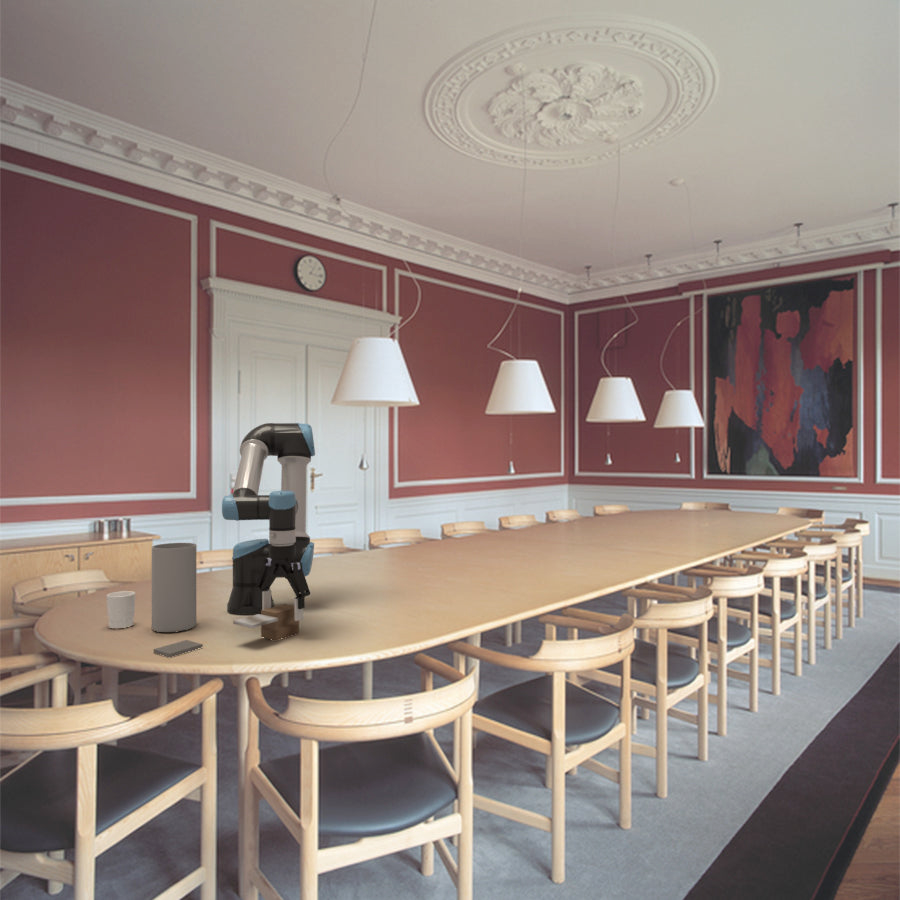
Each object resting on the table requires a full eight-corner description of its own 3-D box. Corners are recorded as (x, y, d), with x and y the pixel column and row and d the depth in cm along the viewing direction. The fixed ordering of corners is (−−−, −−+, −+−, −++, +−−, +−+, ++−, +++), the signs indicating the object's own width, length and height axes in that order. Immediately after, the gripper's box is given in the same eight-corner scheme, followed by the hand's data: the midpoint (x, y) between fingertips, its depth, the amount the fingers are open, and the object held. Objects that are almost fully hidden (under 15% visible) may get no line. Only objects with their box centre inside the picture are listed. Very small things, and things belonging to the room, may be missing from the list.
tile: (186, 645, 182) (153, 655, 174) (186, 639, 182) (153, 649, 174) (202, 649, 179) (169, 659, 170) (202, 644, 179) (169, 653, 170)
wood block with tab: (282, 630, 196) (282, 603, 196) (301, 634, 192) (301, 607, 192) (233, 645, 181) (233, 616, 181) (252, 650, 177) (252, 620, 177)
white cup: (141, 623, 203) (141, 591, 203) (123, 630, 195) (123, 597, 195) (119, 622, 205) (119, 590, 205) (100, 629, 197) (100, 596, 197)
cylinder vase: (165, 621, 205) (165, 542, 205) (203, 623, 204) (203, 543, 204) (143, 633, 193) (143, 548, 193) (183, 634, 192) (183, 549, 192)
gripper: (243, 541, 195) (244, 612, 195) (303, 550, 181) (303, 626, 182) (263, 538, 201) (263, 606, 202) (322, 546, 187) (322, 619, 188)
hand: (282, 616), depth 192 cm, fingers open, 13 cm apart
